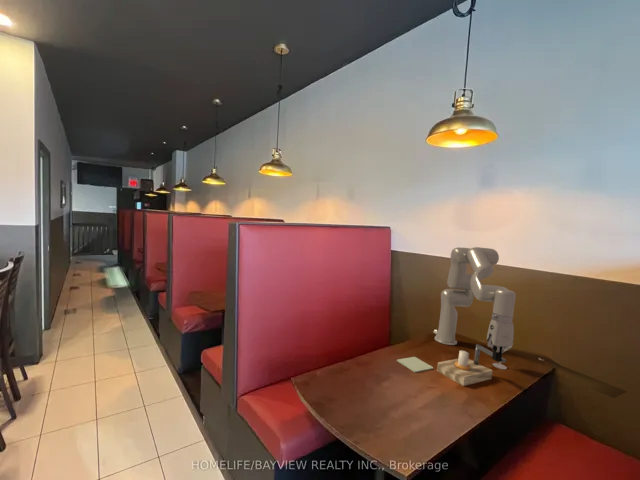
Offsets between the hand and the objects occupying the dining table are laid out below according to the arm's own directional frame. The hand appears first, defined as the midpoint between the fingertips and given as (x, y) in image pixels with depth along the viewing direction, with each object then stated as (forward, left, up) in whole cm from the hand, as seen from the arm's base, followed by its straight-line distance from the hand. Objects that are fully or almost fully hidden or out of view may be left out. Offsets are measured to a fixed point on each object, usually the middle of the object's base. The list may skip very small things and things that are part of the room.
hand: (496, 360), depth 132 cm
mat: (-28, -18, -12) cm, 35 cm away
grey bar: (-6, +4, -8) cm, 11 cm away
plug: (-13, -4, -12) cm, 18 cm away
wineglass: (-13, +26, -13) cm, 31 cm away
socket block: (-13, -2, -12) cm, 18 cm away
